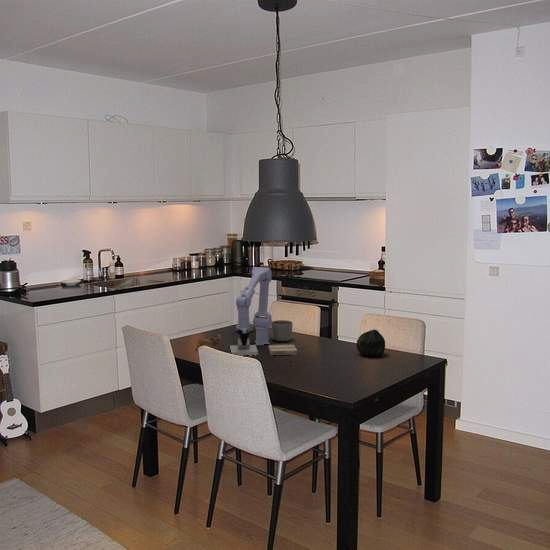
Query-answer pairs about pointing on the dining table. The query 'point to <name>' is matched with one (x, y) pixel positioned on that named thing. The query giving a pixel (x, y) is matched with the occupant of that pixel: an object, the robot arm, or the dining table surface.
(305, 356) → the dining table surface
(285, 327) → the planter
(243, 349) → the block
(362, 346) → the squash
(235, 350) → the stand
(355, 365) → the dining table surface
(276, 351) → the stand
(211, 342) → the fried chicken drumstick
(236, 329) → the air freshener
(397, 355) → the dining table surface
